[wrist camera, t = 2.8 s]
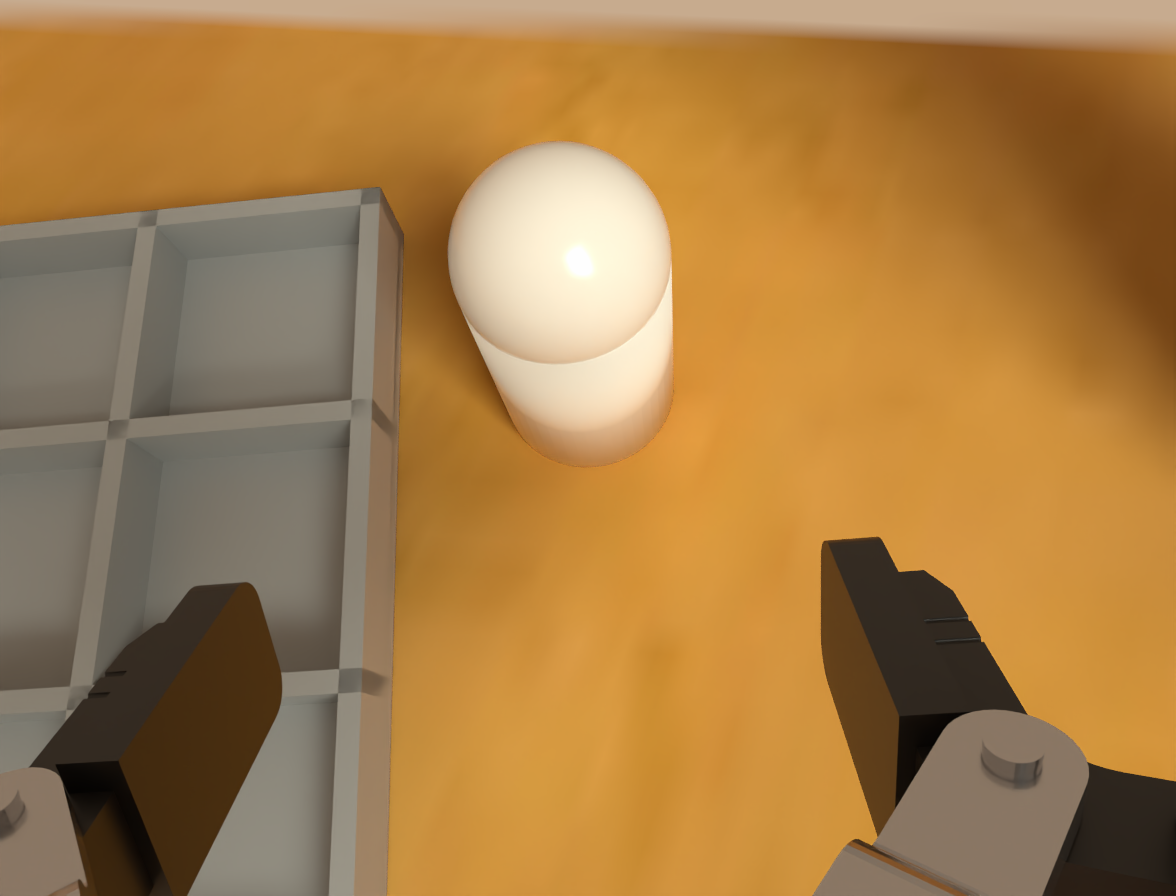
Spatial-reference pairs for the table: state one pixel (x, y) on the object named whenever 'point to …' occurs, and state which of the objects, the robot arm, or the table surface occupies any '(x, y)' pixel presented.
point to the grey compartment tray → (213, 492)
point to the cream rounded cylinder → (569, 298)
